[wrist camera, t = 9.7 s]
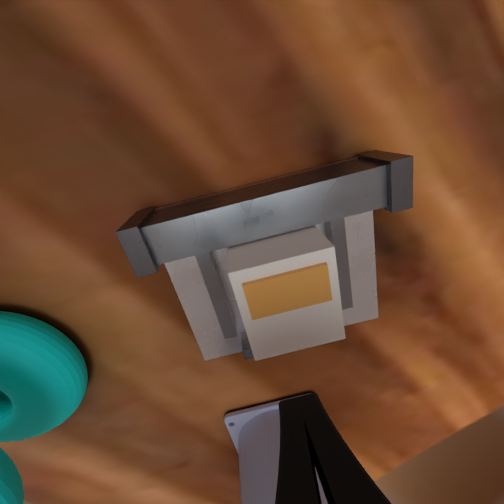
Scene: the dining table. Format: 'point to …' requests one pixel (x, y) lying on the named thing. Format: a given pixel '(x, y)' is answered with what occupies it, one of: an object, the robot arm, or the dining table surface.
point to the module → (287, 291)
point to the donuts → (34, 387)
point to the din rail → (265, 225)
